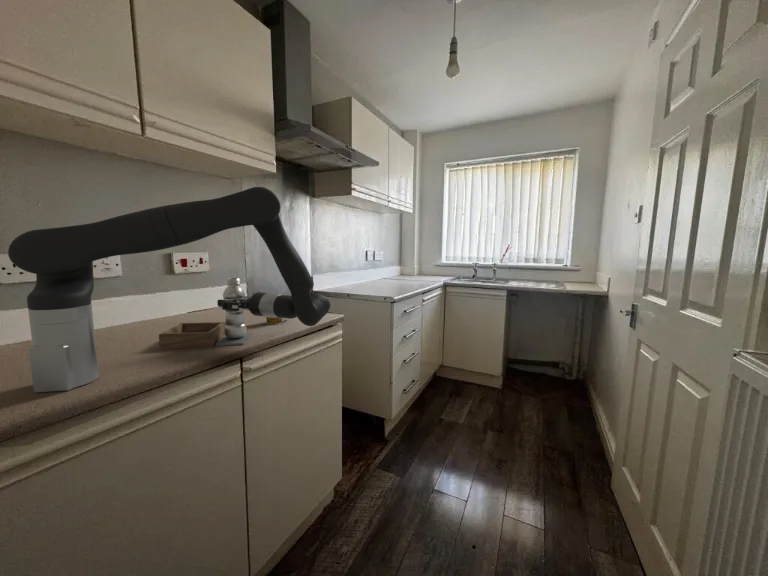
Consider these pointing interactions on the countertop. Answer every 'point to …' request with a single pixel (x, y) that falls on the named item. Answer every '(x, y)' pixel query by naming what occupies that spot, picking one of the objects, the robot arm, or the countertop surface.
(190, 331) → the walnut frame
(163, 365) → the countertop surface
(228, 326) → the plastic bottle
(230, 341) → the grey mat
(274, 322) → the condiment
